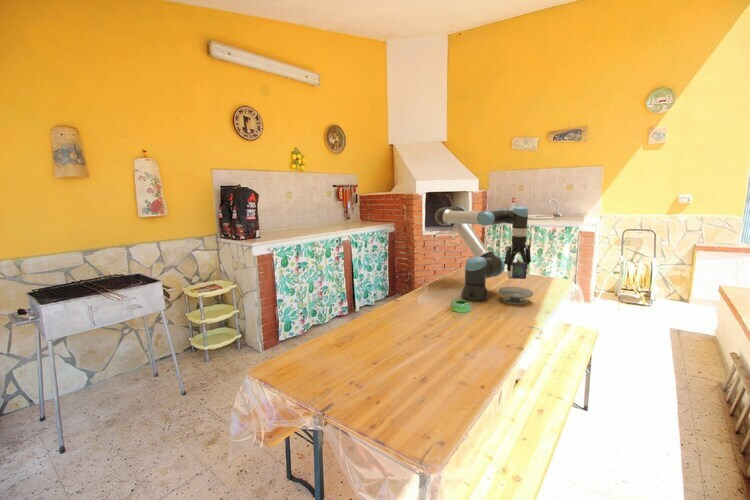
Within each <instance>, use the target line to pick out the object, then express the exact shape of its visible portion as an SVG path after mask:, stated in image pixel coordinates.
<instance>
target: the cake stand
mask: <svg viewBox="0 0 750 500" xmlns="http://www.w3.org/2000/svg"><path fill="white" fill-rule="evenodd" d="M498 293H499V294H500V295H502V296H504V297H503V298H502V302H504V303H505V304H508V305H512V306H525V305H527V304H528V303H529V302H528V299H529V298H531V297H533V296H534V292H533V291H532V290H531V289H528V288H525V287H521V286H503V287H500V288H498ZM527 298H528V299H527Z"/></svg>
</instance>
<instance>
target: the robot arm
mask: <svg viewBox="0 0 750 500" xmlns="http://www.w3.org/2000/svg"><path fill="white" fill-rule="evenodd" d="M434 219H435V221H436V224H437V223H438V224H439V225H441V226H450V228H452V230H453V231H456V232H457V233H458V235H459V236H460V238H461V239H462V240H463V241H464V243H465V244H466V245H467V247H468V249H469V250H470V252H471V253H472V255H473V256H472V257H469V258H467V259H466V260H465V265H464V284H463V287H462V290H461V293H460V295H461V296H460V298H462V299H463V300H465V301H469V302H485V301H488V299H489V294H488V290H487V286H486V284H487V283H486V281H487V280H486V279H489V278H493V277H494V278H495V277H497V276H500V275H502V274H503V273H504V271H505V266H506V265H507V266H506V270H507V277H508V276H509V277H512V269H513V266H512V262H514V260H515V258H516V255H517V254H519V253H520V256H521V259H522V262H526V263H527V267H528V265H529V264H530V263H531V262H532V257H531V244H530V245H529V244H526V243H527V239H528V238H527V235H528V220H529V208H528V207H526V206H515V207H513V209H512V210H509V209H496V210H490V211H489V210H474V211H473V210H467V209H466V208H464V207H463V206H458V205H455V206H445V207H443V206H442V207H441V208H439V209H438V210H437V211H436V212H435V215H434ZM501 224H503V225H504V224H510V225H512V226H511V228H512V229H511V235H512V236H511V244H510V246H509V245H507V246H506V253H505V256H504V259H503V258H502V257H501V256H498V255H496V254H495V253H494V252H493V251H492V250H489V249H488V248H487V247H486V245H485V244H484V243H483V241H482V240H481V238H480V237H479V236H478V234H477V233H476V231H475V230H474V229H473V227H472V226H471V225H481V226H485V227H486V226H487V227H488V226H493V225H501ZM509 277H508V278H509Z"/></svg>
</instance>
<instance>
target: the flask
mask: <svg viewBox="0 0 750 500" xmlns="http://www.w3.org/2000/svg"><path fill="white" fill-rule="evenodd" d="M512 266H513V269H512V277H509V276H508V275H507V277H508V278H509V279H511V280H513V279H517V280H518V279H519V280H520V279H521V280H526V279H527V270H528V266H527V263H526V262H523V261H520V259H519V258H516V261H515V262H514V261H513V262H512Z"/></svg>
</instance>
